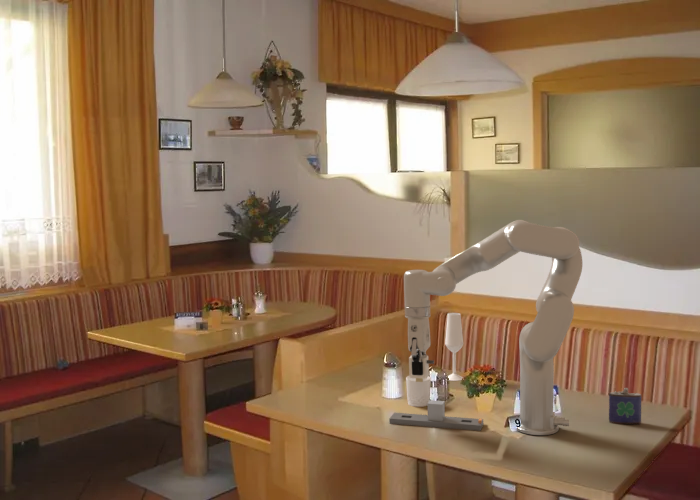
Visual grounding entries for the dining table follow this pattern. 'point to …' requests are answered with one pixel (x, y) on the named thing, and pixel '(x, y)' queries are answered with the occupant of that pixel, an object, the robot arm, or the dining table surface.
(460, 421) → the strip
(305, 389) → the dining table surface
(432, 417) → the grey block
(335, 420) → the dining table surface
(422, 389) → the white cup
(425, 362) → the ivory charger
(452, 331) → the champagne flute
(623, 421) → the flask
